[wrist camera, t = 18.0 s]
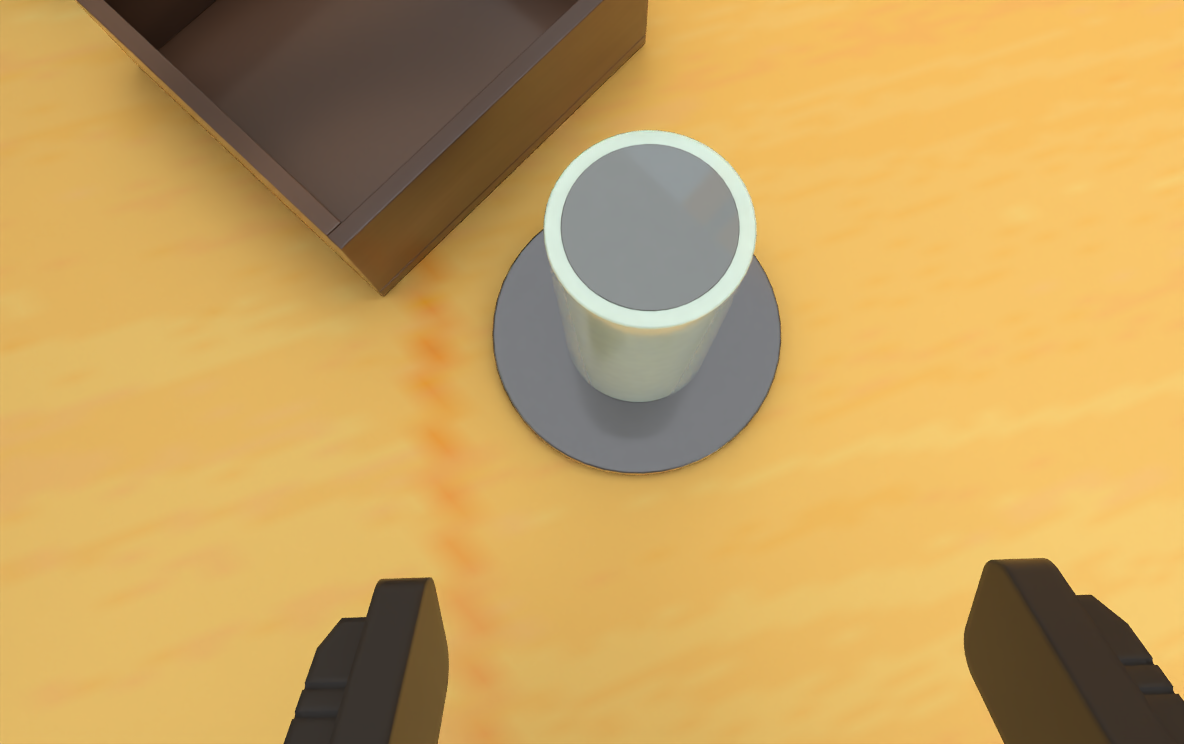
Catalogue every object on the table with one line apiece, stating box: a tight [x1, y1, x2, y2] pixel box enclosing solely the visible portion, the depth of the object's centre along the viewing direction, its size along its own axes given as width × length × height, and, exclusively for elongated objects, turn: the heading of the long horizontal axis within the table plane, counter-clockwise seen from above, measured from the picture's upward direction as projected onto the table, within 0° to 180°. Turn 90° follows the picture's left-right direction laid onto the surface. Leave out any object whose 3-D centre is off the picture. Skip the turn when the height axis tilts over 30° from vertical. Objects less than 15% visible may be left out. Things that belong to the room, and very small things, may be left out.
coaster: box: [493, 230, 781, 475], centre depth 30 cm, size 11×11×1 cm
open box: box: [75, 0, 648, 296], centre depth 31 cm, size 15×15×5 cm
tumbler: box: [543, 130, 757, 402], centre depth 25 cm, size 6×6×10 cm
